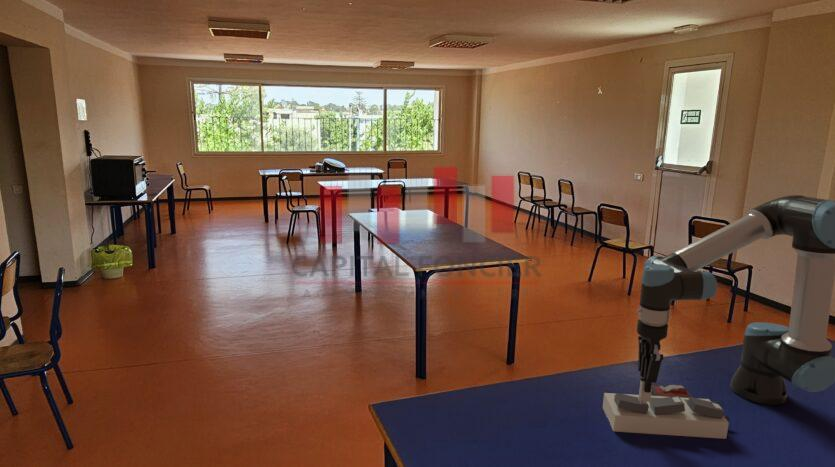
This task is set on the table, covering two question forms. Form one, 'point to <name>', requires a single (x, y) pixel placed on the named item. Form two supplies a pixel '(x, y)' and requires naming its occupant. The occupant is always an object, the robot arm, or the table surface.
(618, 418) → the power strip
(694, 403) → the block
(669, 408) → the rocker
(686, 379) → the table surface
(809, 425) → the table surface
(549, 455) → the table surface
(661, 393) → the walkie-talkie
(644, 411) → the rocker
